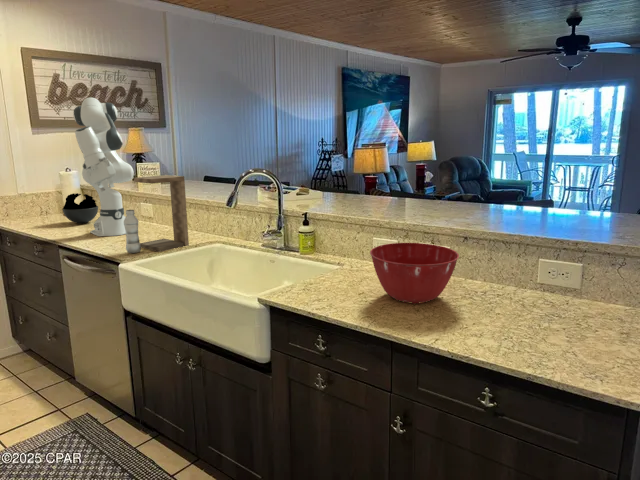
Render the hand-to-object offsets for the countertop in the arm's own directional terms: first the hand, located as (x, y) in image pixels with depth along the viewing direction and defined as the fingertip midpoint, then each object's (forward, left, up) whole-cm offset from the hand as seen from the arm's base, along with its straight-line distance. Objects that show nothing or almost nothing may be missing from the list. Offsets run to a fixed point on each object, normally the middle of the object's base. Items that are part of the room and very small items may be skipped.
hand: (107, 189), depth 230 cm
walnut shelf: (+17, +16, -29) cm, 37 cm away
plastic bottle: (+17, +1, -29) cm, 33 cm away
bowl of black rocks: (-81, +26, -29) cm, 90 cm away
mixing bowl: (+150, +21, -29) cm, 154 cm away
